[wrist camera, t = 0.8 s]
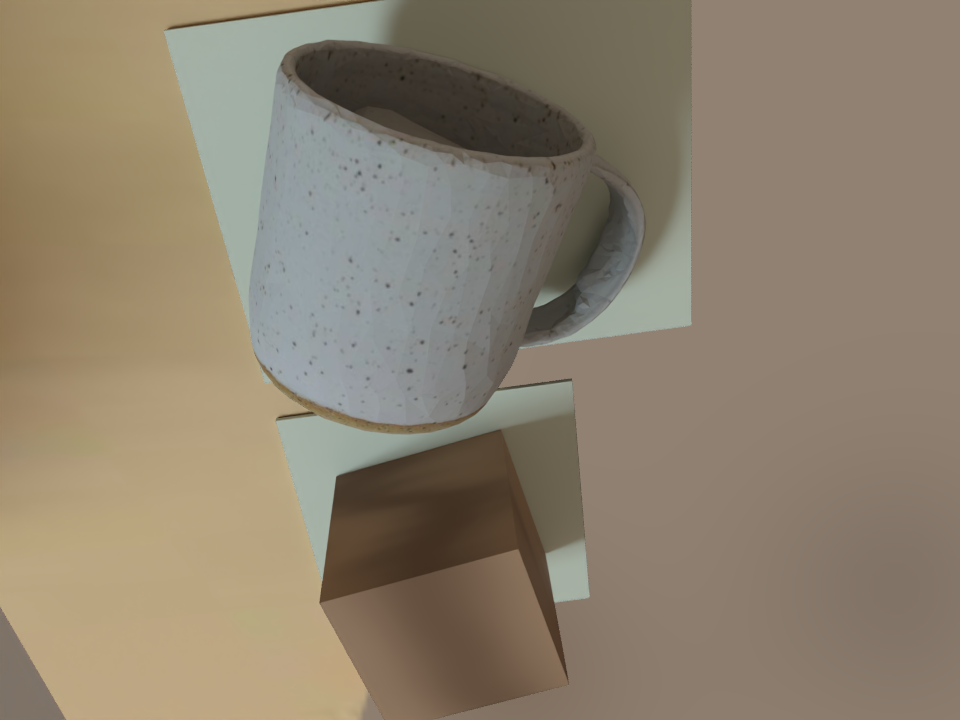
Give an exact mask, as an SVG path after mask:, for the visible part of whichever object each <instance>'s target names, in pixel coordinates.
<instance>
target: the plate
mask: <svg viewBox="0 0 960 720" xmlns="http://www.w3.org/2000/svg"><path fill="white" fill-rule="evenodd" d="M276 424H277V427H278V431H279V434H280V438H281V441H282V445H283V448H284V452H285V455H286V459H287V462H288V466H289V469H290V473H291V476H292V480H293V483H294V487H295V490H296V494H297V497H298V501H299V504H300V508H301V511H302V515H303V518H304V522H305V525H306V529H307V532H308V535H309V539H310V542H311V546H312V549H313V553H314V556H315V560H316V563H317V567H318V570H319V574H320V577H321V581H322V580H323V573H324V565H325V558H326V550H327V542H328V535H329V527H330V520H331V512H332V505H333V497H334V489H335V482H336V476H340V475H343V474H347V473H350V472H354V471H357V470H361V469H364V468H368V467H371V466H375V465H378V464H382V463H385V462H389V461H392V460H396V459H399V458H403V457H406V456H410V455H413V454H417V453H420V452H424V451H427V450H431V449H434V448H438V447H441V446H445V445H448V444H452V443H455V442H459V441H462V440H466V439H469V438H473V437H476V436H480V435H483V434H487V433H490V432H494V431H497V430H501V431H502V433H503V436H504V439H505V442H506V445H507V447H508V450H509V453H510V456H511V459H512V461H513V464H514V467H515V470H516V473H517V476H518V478H519V481H520V484H521V487H522V490H523V492H524V495H525V498H526V501H527V504H528V506H529V509H530V512H531V515H532V518H533V520H534V523H535V526H536V529H537V532H538V534H539V537H540V540H541V543H542V546H543V549H544V551H545V554H546V559H547V565H548V570H549V576H550V581H551V587H552V592H553V598H554V602H561V601H568V600H576V599H584V598H589V597H590V596H589V584H588V570H587V558H586V547H585V546H586V545H585V534H584V521H583V508H582V496H581V484H580V472H579V458H578V447H577V434H576V422H575V409H574V397H573V384H572V379H565V380H558V381H550V382H542V383H535V384H528V385H520V386H513V387H505V388H498V389H497V390H496V391H495V392H494V394H493V395H492V397H491V398H490V399H489V401H488V402H487V403H486V405H485V406H484V407H483V408H482V409H481V410H480V411H479V412H478V413H477V414H476V415H474V416H473V417H471V418H469V419H467V420H465V421H464V422H462V423H460V424H458V425H455V426H452V427H449V428H446V429H443V430H439V431H435V432H431V433H421V434H411V435H403V434H386V433H378V432H369V431H363V430H360V429H356V428H353V427H349V426H346V425H343V424H339V423H336V422H333V421H330V420H327V419H324V418H322V417H320V416H318V415H317V414H315V413H313V414H306V415H298V416H291V417H283V418H276Z"/></svg>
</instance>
